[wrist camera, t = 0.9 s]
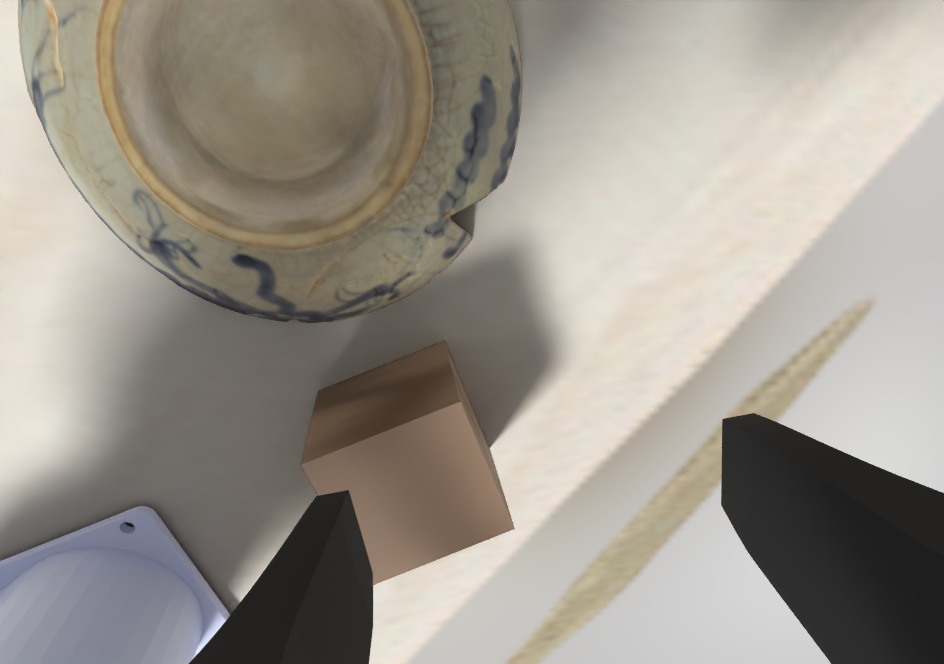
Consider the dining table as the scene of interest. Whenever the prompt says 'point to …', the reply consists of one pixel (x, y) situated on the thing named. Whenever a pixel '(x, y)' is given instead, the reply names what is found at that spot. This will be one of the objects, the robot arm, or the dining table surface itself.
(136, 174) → the decorative bowl
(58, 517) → the dining table surface
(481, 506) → the walnut block
